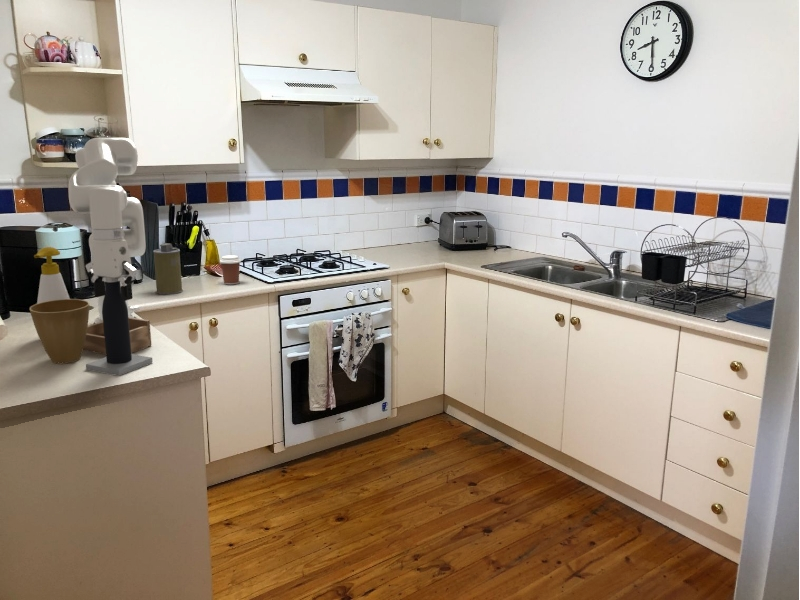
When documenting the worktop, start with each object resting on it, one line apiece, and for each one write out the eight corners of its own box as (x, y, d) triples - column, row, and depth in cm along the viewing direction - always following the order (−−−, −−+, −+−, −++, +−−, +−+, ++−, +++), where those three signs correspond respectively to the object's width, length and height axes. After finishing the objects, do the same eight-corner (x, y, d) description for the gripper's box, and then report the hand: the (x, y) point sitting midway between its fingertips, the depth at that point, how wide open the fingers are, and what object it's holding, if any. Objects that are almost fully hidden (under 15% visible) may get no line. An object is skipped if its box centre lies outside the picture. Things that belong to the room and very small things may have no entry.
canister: (171, 295, 267) (168, 246, 263) (150, 293, 271) (146, 244, 266) (188, 290, 277) (185, 242, 273) (168, 288, 281) (164, 241, 276)
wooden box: (112, 339, 207) (110, 314, 205) (151, 345, 200) (149, 320, 199) (80, 349, 196) (77, 323, 194) (120, 356, 190) (118, 330, 188)
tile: (120, 356, 190) (120, 351, 189) (152, 362, 185) (152, 357, 185) (86, 369, 179) (85, 364, 179) (119, 375, 174) (118, 370, 174)
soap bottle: (26, 344, 201) (14, 249, 194) (45, 334, 211) (35, 244, 204) (67, 345, 200) (57, 250, 193) (85, 335, 210) (75, 245, 204)
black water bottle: (123, 364, 178) (113, 255, 171) (101, 363, 179) (91, 254, 172) (136, 357, 184) (127, 251, 177) (115, 356, 185) (106, 250, 178)
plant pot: (29, 359, 187) (22, 304, 183) (83, 348, 197) (78, 296, 193) (46, 372, 177) (39, 314, 173) (102, 360, 187) (97, 305, 183)
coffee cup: (231, 286, 285) (229, 258, 283) (216, 283, 290) (214, 256, 287) (246, 282, 293) (245, 256, 290) (231, 280, 298) (230, 254, 295)
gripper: (143, 235, 174) (148, 298, 178) (95, 231, 180) (101, 292, 184) (121, 238, 167) (127, 304, 171) (72, 234, 174) (78, 297, 178)
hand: (113, 297), depth 178 cm, fingers open, 9 cm apart
